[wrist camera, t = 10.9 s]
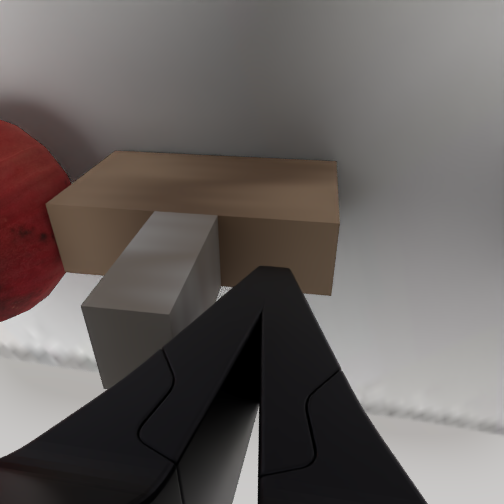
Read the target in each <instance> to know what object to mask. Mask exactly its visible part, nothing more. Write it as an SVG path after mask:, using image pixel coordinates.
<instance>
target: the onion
mask: <svg viewBox="0 0 504 504" xmlns="http://www.w3.org/2000/svg"><path fill="white" fill-rule="evenodd" d="M70 185H71V182H70V180H69V178H68V175H67V174H66V172H65V171H64V170H63V169H62V167H61V166H60V165H59V164H58V162H57V161H56V160H55V159H54V157H53V156H52V155H51V154H50V152H49V151H48V150H47V149H46V147H44V146H43V145H42V144H40V143H39V142H38V141H36V140H35V139H34V138H32V137H31V136H30V135H28V134H27V133H26V132H24V131H23V130H22V129H20V128H19V127H18V126H16V125H13V124H11V123H8V122H5V121H2V120H0V322H2V321H4V320H7V319H9V318H12V317H14V316H16V315H19V314H21V313H23V312H25V311H28V310H30V309H31V308H33V307H34V306H35V305H37V304H38V303H39V302H40V301H42V300H43V299H44V298H46V297H47V296H48V295H49V294H50V293H51V292H52V290H53V289H54V288H55V286H56V285H57V284H58V282H59V281H60V280H61V278H62V277H63V276H64V274H65V273H66V272H65V270H64V267H63V263H62V260H61V256H60V253H59V249H58V246H57V242H56V239H55V235H54V232H53V229H52V225H51V222H50V218H49V215H48V211H47V208H46V203H47V202H49V201H50V200H51V199H53V198H54V197H55V196H56V195H58V194H59V193H60V192H62V191H63V190H64V189H66V188H67V187H68V186H70Z"/></svg>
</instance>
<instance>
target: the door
mask: <svg viewBox="0 0 504 504" xmlns="http://www.w3.org/2000/svg"><path fill="white" fill-rule="evenodd" d="M46 208H47V211H48V215H49V218H50V222H51V225H52V229H53V232H54V235H55V239H56V242H57V246H58V249H59V253H60V256H61V260H62V263H63V267H64V270H65V272H69V273H80V274H92V275H103V276H104V277H103V278H102V279H101V280H100V282H99V283H98V284H97V286H96V287H95V288H94V289H93V291H92V292H91V293H90V295H89V296H88V297H87V298H86V300H85V301H84V302H83V304H82V305H81V308H82V312H83V316H84V319H85V323H86V326H87V330H88V333H89V337H90V341H91V344H92V348H93V351H94V355H95V359H96V362H97V366H98V369H99V373H100V376H101V380H102V384H103V387H104V389H109V388H110V387H112V386H113V385H115V384H116V383H117V382H119V381H120V380H122V379H123V378H124V377H126V376H127V375H128V374H129V373H131V372H132V371H133V370H134V369H136V368H137V367H138V366H140V365H141V364H142V363H143V362H145V361H146V360H147V359H148V358H149V357H151V356H152V355H153V354H154V353H155V352H157V351H158V350H159V349H162V347H163V346H164V345H165V344H166V343H168V342H169V341H170V340H171V339H172V338H173V337H175V336H176V335H177V334H178V333H179V332H181V331H182V330H183V329H184V328H185V327H187V326H188V325H189V324H190V323H191V322H193V321H194V320H195V319H196V318H197V317H198V316H200V315H201V314H202V313H203V312H204V311H206V310H207V309H208V308H209V307H210V306H212V305H213V304H214V303H215V302H216V299H217V296H218V293H219V291H220V288H221V286H227V287H234V286H235V285H237V284H238V283H239V282H240V281H241V280H243V279H244V278H245V277H246V276H247V275H249V274H250V273H251V272H252V271H253V270H254V269H256V268H257V267H258V266H261V265H262V266H273V267H285V268H290V269H291V271H292V273H293V275H294V277H295V279H296V281H297V283H298V285H299V287H300V289H301V291H302V293H306V294H317V295H328V296H331V292H332V284H333V276H334V267H335V259H336V251H337V242H338V234H339V226H340V219H339V199H338V180H337V161H320V160H299V159H278V158H257V157H236V156H215V155H194V154H173V153H152V152H131V151H114V152H113V153H112V154H110V155H109V156H108V157H106V158H105V159H104V160H103V161H101V162H100V163H99V164H97V165H96V166H95V167H93V168H92V169H91V170H89V171H88V172H87V173H85V174H84V175H83V176H81V177H80V178H79V179H78V180H76V181H75V182H74V183H72V184H71V185H70V186H68V187H67V188H66V189H64V190H63V191H62V192H60V193H59V194H58V195H56V196H55V197H54V198H53V199H51V200H50V201H49V202H47V203H46Z"/></svg>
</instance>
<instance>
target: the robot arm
mask: <svg viewBox="0 0 504 504" xmlns="http://www.w3.org/2000/svg"><path fill="white" fill-rule="evenodd" d="M258 407H259V455H258V456H259V457H258V504H427V502H426V501H425V499H424V498H423V496H422V495H421V494H420V492H419V491H418V489H417V488H416V486H415V485H414V483H413V482H412V481H411V479H410V478H409V476H408V475H407V473H406V472H405V471H404V469H403V467H402V466H401V465H400V463H399V462H398V460H397V459H396V457H395V456H394V455H393V453H392V452H391V450H390V449H389V447H388V446H387V444H386V443H385V442H384V440H383V439H382V437H381V436H380V434H379V433H378V431H377V430H376V428H375V427H374V425H373V424H372V422H371V421H370V419H369V417H368V416H367V414H366V413H365V411H364V410H363V408H362V406H361V404H360V403H359V401H358V399H357V397H356V395H355V394H354V392H353V390H352V388H351V386H350V384H349V382H348V381H347V379H346V377H345V375H344V373H343V372H342V371H341V367H340V365H339V363H338V361H337V359H336V357H335V355H334V353H333V351H332V350H331V348H330V346H329V344H328V342H327V340H326V338H325V336H324V334H323V332H322V330H321V328H320V326H319V324H318V322H317V320H316V318H315V316H314V314H313V312H312V310H311V308H310V306H309V304H308V302H307V300H306V298H305V296H304V294H303V293H302V291H301V289H300V287H299V285H298V283H297V281H296V279H295V277H294V275H293V273H292V271H291V269H290V268H285V267H273V266H262V265H261V266H258V267H257V268H256V269H254V270H253V271H252V272H251V273H250V274H249V275H247V276H246V277H245V278H244V279H243V280H241V281H240V282H239V283H238V284H237V285H235V286H234V287H233V288H232V289H231V290H229V291H228V292H227V293H226V294H225V295H224V296H222V297H221V298H220V299H219V300H218V301H216V302H215V303H214V304H213V305H212V306H210V307H209V308H208V309H207V310H206V311H204V312H203V313H202V314H201V315H200V316H198V317H197V318H196V319H195V320H194V321H193V322H191V323H190V324H189V325H188V326H187V327H185V328H184V329H183V330H182V331H181V332H179V333H178V334H177V335H176V336H175V337H173V338H172V339H171V340H170V341H169V342H168V343H166V344H165V345H164V346H163V347H162V349H159V350H158V351H157V352H155V353H154V354H153V355H152V356H151V357H149V358H148V359H147V360H146V361H145V362H143V363H142V364H141V365H140V366H138V367H137V368H136V369H134V370H133V371H132V372H131V373H129V374H128V375H127V376H126V377H124V378H123V379H122V380H120V381H119V382H117V383H116V384H115V385H113V386H112V387H110V388H109V389H108V390H106V391H105V392H103V393H102V394H101V395H99V396H98V397H96V398H95V399H93V400H92V401H90V402H89V403H87V404H86V405H84V406H83V407H81V408H80V409H79V410H77V411H76V412H74V413H73V414H71V415H70V416H68V417H67V418H65V419H64V420H62V421H61V422H60V423H58V424H57V425H55V426H54V427H52V428H51V429H49V430H48V431H46V432H45V433H43V434H42V435H40V436H39V437H37V438H36V439H35V440H33V441H31V442H30V443H28V444H27V445H25V446H23V447H22V448H20V449H18V450H16V451H14V452H12V453H11V454H9V455H7V456H4V457H2V458H0V504H232V502H233V499H234V495H235V491H236V488H237V484H238V480H239V477H240V473H241V469H242V466H243V462H244V458H245V454H246V451H247V447H248V443H249V440H250V436H251V433H252V429H253V425H254V422H255V418H256V414H257V411H258Z"/></svg>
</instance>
